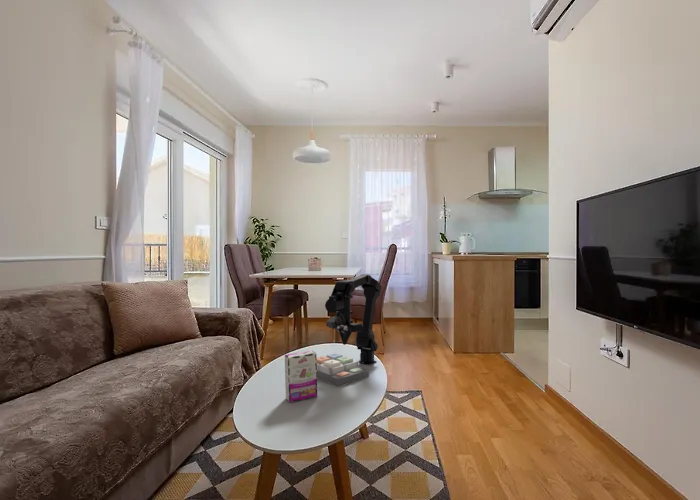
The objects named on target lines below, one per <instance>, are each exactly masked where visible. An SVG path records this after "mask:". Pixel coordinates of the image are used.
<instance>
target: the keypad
mask: <svg viewBox="0 0 700 500" xmlns="http://www.w3.org/2000/svg"><path fill="white" fill-rule="evenodd" d="M336 361H337V360H336ZM358 361H359V360H355V359H353V362H351V363H347V364H342V363H341V365H340V366H336V367H333V368H330V367H327V366H324V363H323V364H319V363H317V379H318V380H321V381H324V382H326V383H328V384H331V385H332V386H336V387H341V386H344V385H348V384H352V383H354V382H357V381H360V380H363V379H366V378H368V377H370V376H369V369H368V368H365V367H362V366H359V362H358Z"/></svg>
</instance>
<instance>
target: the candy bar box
mask: <svg viewBox="0 0 700 500" xmlns="http://www.w3.org/2000/svg"><path fill="white" fill-rule="evenodd" d="M316 359H317V353H316V352H315V351H314V350H307V351H301V352H295V353H288V354H284V374H285V375H284V379H285V380H284V381H285V382H284V383H285V385H284V386H285V399H286V400H287V401H288V402H289V403H294V402H299V401H304V400H309V399H314V398H318V378H317V360H316Z"/></svg>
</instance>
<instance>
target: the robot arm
mask: <svg viewBox="0 0 700 500" xmlns="http://www.w3.org/2000/svg"><path fill="white" fill-rule="evenodd" d="M358 287H360V288H361V289H362V290H363V293H362V294H363V295H364V298H365V301H364V302H365V303H364V310H363V317H362V323H361V322H360V323H359V322H354V320H352V316H351V315H352V314H353V311H352V309H351V308H352V307H351V306H352V305H351V302H352V301H351V299H353V298H354V296H353V295H352V293H353V292H355V289H356V288H358ZM381 291H382V285H381V284H380V282H379V281H378V280H376V279H375V278H374V277H372V276H371V274H366V273H365V274H362V273H361V274H360V275H358V276H355V277H353V278H350V279H349V280H348V279H347V280H346V279H345V280H337V281H336V282H335V284H334V287H333V289H332V292H331V295H329V296H328V299H327V300H326V301H325V305H324V307H325V310H326V312H328V313H330V314H331V313H334V314H335V315H334V316H332V317H330V318H329V319H327V320H326V327H328V328H329V329H332V330H335V331H337V332H338V334H339V336H340V339H341V342H342V345H347V343H348V341H349V339H350V336H351V335H352V333H356V338H355V344H356V348H357V350H360V354H359V360H357V361H358V363H360V364H363V365H367V366H368V365H371V364H372V365H373V364H374V363H377V360H375V352H376V351H377V350H378V348H379V347H378V346H379V345H378V344H377V342H376V341H375V334H374V332H373V323H374V315H375V308H376V302H377V299H378V298H379V297H380V295H381Z"/></svg>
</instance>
